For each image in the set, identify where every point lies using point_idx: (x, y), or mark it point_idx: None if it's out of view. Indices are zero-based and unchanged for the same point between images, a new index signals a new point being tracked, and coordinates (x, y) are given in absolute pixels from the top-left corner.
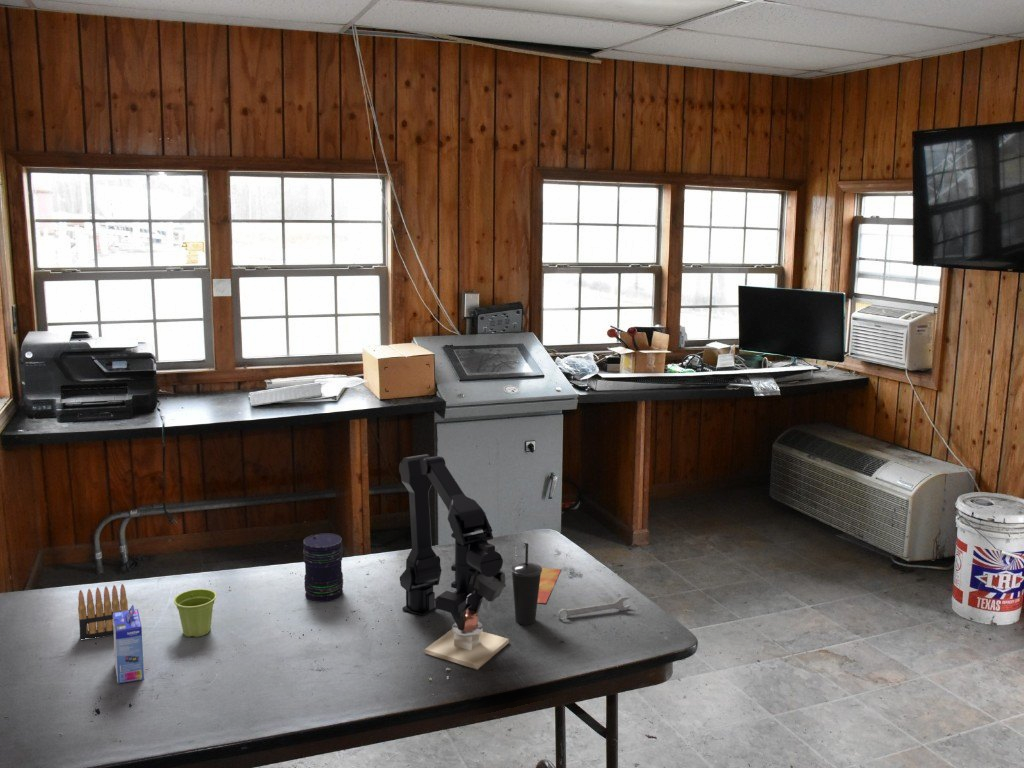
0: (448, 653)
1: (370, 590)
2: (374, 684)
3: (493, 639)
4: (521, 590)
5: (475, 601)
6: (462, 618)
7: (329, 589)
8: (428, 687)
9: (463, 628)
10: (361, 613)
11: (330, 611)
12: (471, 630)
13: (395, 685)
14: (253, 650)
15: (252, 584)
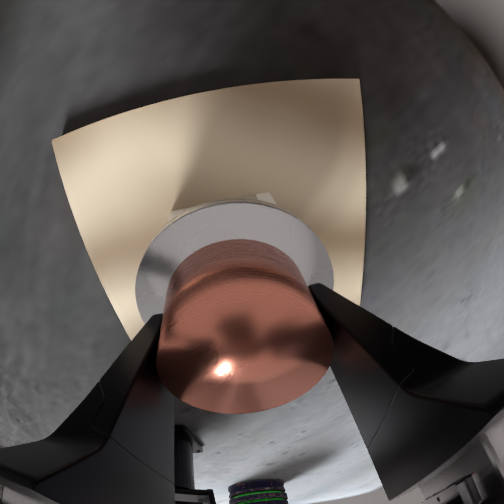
0: (346, 245)
1: (195, 479)
2: (494, 274)
3: (103, 187)
4: None
5: (134, 445)
6: (402, 333)
7: (271, 495)
8: (487, 167)
9: (320, 287)
10: (267, 459)
11: (293, 468)
12: (272, 247)
13: (493, 240)
14: None
15: (289, 497)
